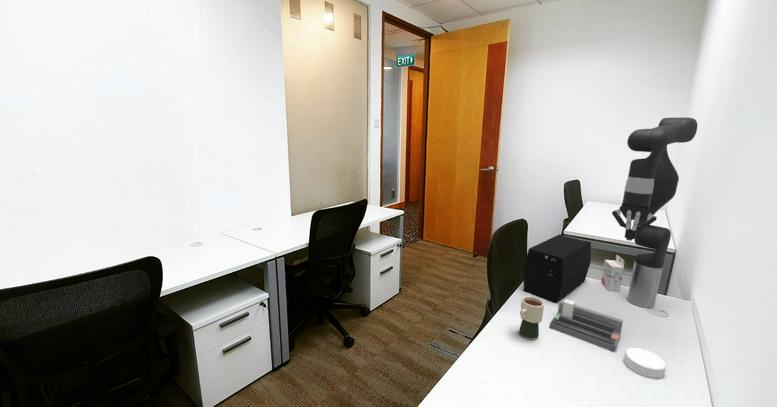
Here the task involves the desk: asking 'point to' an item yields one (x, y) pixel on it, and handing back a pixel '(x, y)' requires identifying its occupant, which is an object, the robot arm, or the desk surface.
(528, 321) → the character mug
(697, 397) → the desk surface
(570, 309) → the handle
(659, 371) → the white round disc
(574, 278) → the uninterruptible power supply
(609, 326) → the grey slider panel
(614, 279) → the ink cartridge box
